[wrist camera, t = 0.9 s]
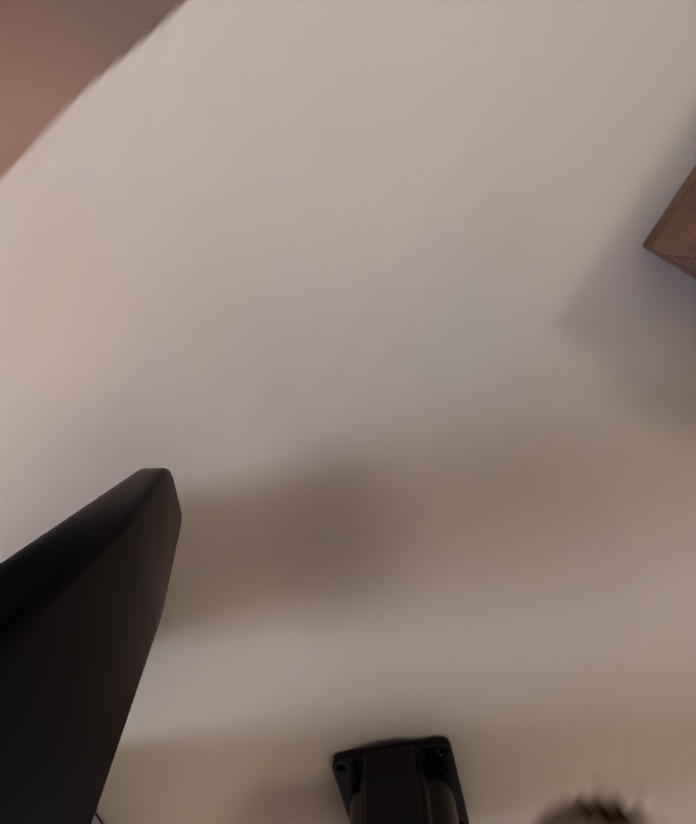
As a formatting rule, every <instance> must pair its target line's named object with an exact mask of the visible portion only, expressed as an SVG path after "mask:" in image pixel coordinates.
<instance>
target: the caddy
mask: <svg viewBox="0 0 696 824" xmlns="http://www.w3.org/2000/svg"><path fill="white" fill-rule="evenodd" d="M643 247H644V248H645V249H647V250H649V251H650V252H652V253H654V254H655V255H657V256H659V257H660V258H662V259H664V260H665V261H667V262H668V263H670V264H672V265H673V266H675V267H677V268H678V269H680V270H682V271H683V272H685V273H687V274H688V275H690V276H692V277H693V278H695V279H696V167H695V168H694V170H693V171H692V173H691V174H690V176H689V177H688V179H687V180H686V182H685V183H684V185H683V186H682V188H681V189H680V190H679V192H678V193H677V195H676V196H675V198H674V199H673V201H672V202H671V204H670V205H669V207H668V208H667V210H666V211H665V213H664V214H663V215H662V217H661V218H660V220H659V221H658V223H657V224H656V226H655V227H654V229H653V230H652V232H651V233H650V235H649V236H648V238H647V239H646V241H645V242H644V243H643Z"/></svg>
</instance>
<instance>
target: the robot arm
mask: <svg viewBox="0 0 696 824" xmlns="http://www.w3.org/2000/svg"><path fill="white" fill-rule="evenodd" d="M180 527H181V509H180V505H179V501H178V497H177V493H176V488H175V484H174V480H173V477H172V474H171V472H170V471H169V470H168V469H166V468H147V469H140V470H139V471H137V472H135V473H134V474H133V475H131V476H130V477H128V478H127V479H125V480H124V481H122V482H121V483H119V484H118V485H116V486H115V487H113V488H112V489H110V490H109V491H107V492H106V493H104V494H103V495H101V496H100V497H98V498H97V499H96V500H94V501H93V502H91V503H90V504H88V505H87V506H85V507H84V508H82V509H81V510H79V511H78V512H76V513H75V514H73V515H72V516H70V517H69V518H67V519H66V520H64V521H63V522H61V523H60V524H58V525H57V526H56V527H54V528H53V529H51V530H50V531H48V532H47V533H45V534H44V535H42V536H41V537H39V538H38V539H36V540H35V541H33V542H32V543H30V544H29V545H27V546H26V547H24V548H23V549H21V550H20V551H18V552H17V553H15V554H14V555H13V556H11V557H10V558H8V559H7V560H5V561H4V562H2V563H1V564H0V824H92V821H93V818H94V815H95V812H96V809H97V806H98V803H99V800H100V797H101V794H102V791H103V788H104V785H105V782H106V779H107V776H108V773H109V770H110V767H111V764H112V761H113V758H114V755H115V753H116V750H117V747H118V744H119V741H120V738H121V735H122V732H123V729H124V726H125V723H126V720H127V717H128V714H129V711H130V708H131V705H132V702H133V699H134V696H135V693H136V690H137V687H138V684H139V681H140V678H141V675H142V673H143V670H144V667H145V664H146V661H147V658H148V655H149V652H150V649H151V646H152V643H153V640H154V637H155V634H156V631H157V628H158V625H159V621H160V618H161V615H162V610H163V606H164V602H165V598H166V593H167V588H168V584H169V579H170V574H171V569H172V565H173V560H174V555H175V551H176V546H177V541H178V536H179V532H180ZM332 768H333V772H334V775H335V778H336V781H337V784H338V787H339V790H340V793H341V796H342V799H343V802H344V805H345V808H346V811H347V814H348V817H349V820H350V824H469V821H468V815H467V811H466V807H465V802H464V798H463V794H462V790H461V785H460V781H459V777H458V773H457V769H456V764H455V760H454V756H453V752H452V747H451V743H450V741H449V740H448V739H445V738H436V739H430V740H424V741H417V742H411V743H405V744H399V745H393V746H387V747H381V748H374V749H368V750H362V751H356V752H350V753H344V754H339V755H336V756H335V757H334V758H333V765H332Z"/></svg>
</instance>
